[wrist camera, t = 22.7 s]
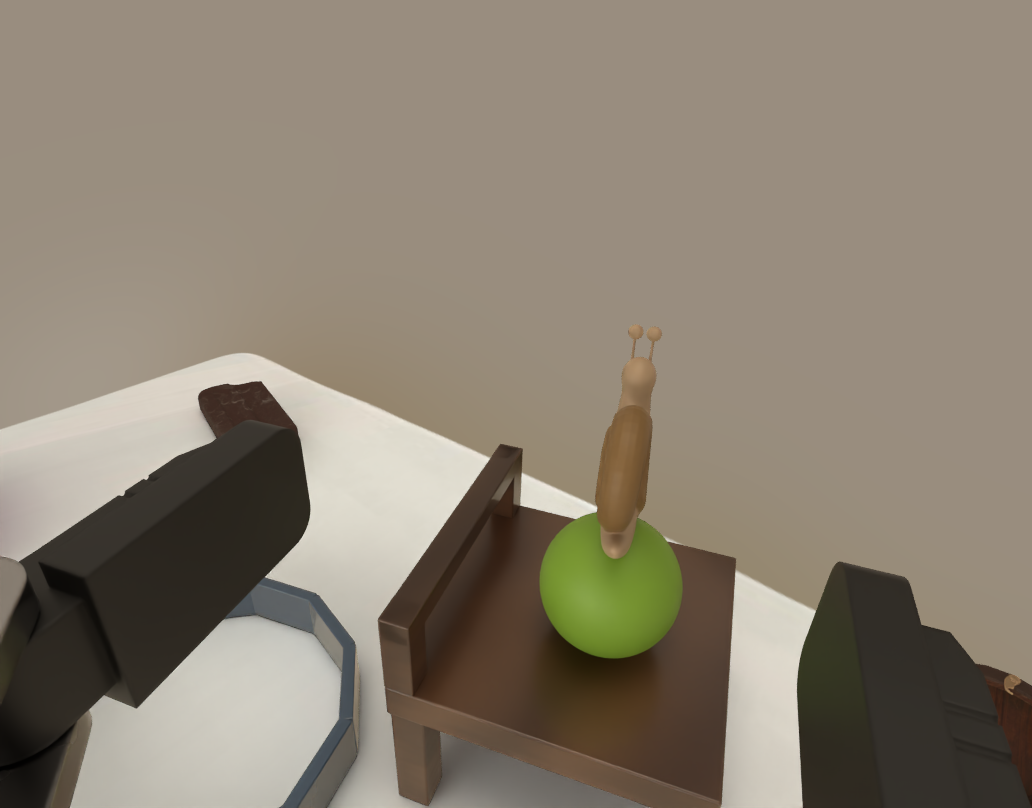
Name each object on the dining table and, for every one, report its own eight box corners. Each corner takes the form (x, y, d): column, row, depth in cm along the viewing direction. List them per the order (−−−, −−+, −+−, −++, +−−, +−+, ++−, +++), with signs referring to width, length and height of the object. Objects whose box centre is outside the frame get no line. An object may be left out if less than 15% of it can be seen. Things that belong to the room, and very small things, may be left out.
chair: (394, 797, 26) (376, 619, 21) (496, 596, 36) (500, 443, 31) (685, 913, 23) (745, 736, 18) (709, 658, 33) (752, 498, 28)
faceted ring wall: (-126, 850, 24) (-157, 813, 23) (180, 580, 37) (171, 547, 36) (194, 1032, 20) (176, 999, 19) (415, 657, 33) (413, 623, 31)
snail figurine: (671, 580, 28) (722, 331, 23) (669, 704, 23) (736, 418, 17) (552, 558, 29) (572, 315, 24) (523, 673, 24) (540, 392, 18)
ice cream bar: (322, 472, 47) (260, 391, 57) (319, 453, 46) (257, 375, 56) (248, 495, 44) (198, 407, 54) (244, 476, 43) (194, 390, 54)
